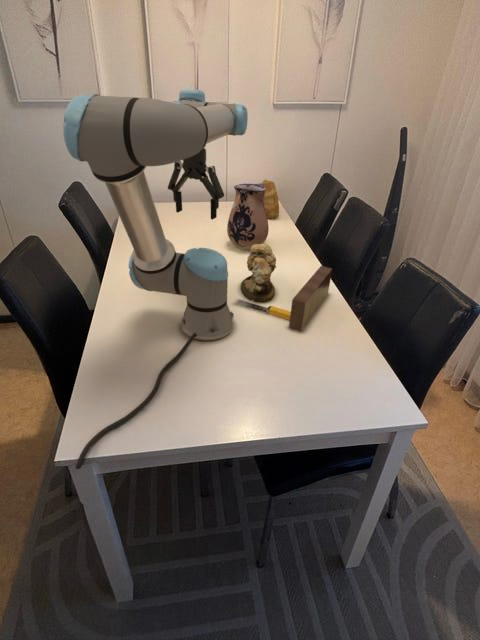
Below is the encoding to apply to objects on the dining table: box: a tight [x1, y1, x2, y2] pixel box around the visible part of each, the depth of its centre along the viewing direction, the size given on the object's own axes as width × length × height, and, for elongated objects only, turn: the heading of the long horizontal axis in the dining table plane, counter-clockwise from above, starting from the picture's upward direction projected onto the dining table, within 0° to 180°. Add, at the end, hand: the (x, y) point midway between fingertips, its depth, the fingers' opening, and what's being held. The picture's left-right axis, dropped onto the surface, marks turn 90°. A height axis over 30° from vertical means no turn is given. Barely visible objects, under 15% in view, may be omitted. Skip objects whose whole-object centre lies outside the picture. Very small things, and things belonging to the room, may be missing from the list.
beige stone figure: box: [240, 243, 277, 303], centre depth 132 cm, size 18×12×17 cm, turn 11°
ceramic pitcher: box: [226, 182, 270, 251], centre depth 163 cm, size 18×21×25 cm
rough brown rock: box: [261, 179, 280, 219], centre depth 202 cm, size 23×17×15 cm
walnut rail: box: [288, 265, 333, 332], centre depth 124 cm, size 26×4×10 cm, turn 152°
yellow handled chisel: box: [235, 299, 291, 321], centre depth 125 cm, size 20×3×2 cm, turn 62°
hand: (196, 214), depth 133 cm, fingers open, 13 cm apart
